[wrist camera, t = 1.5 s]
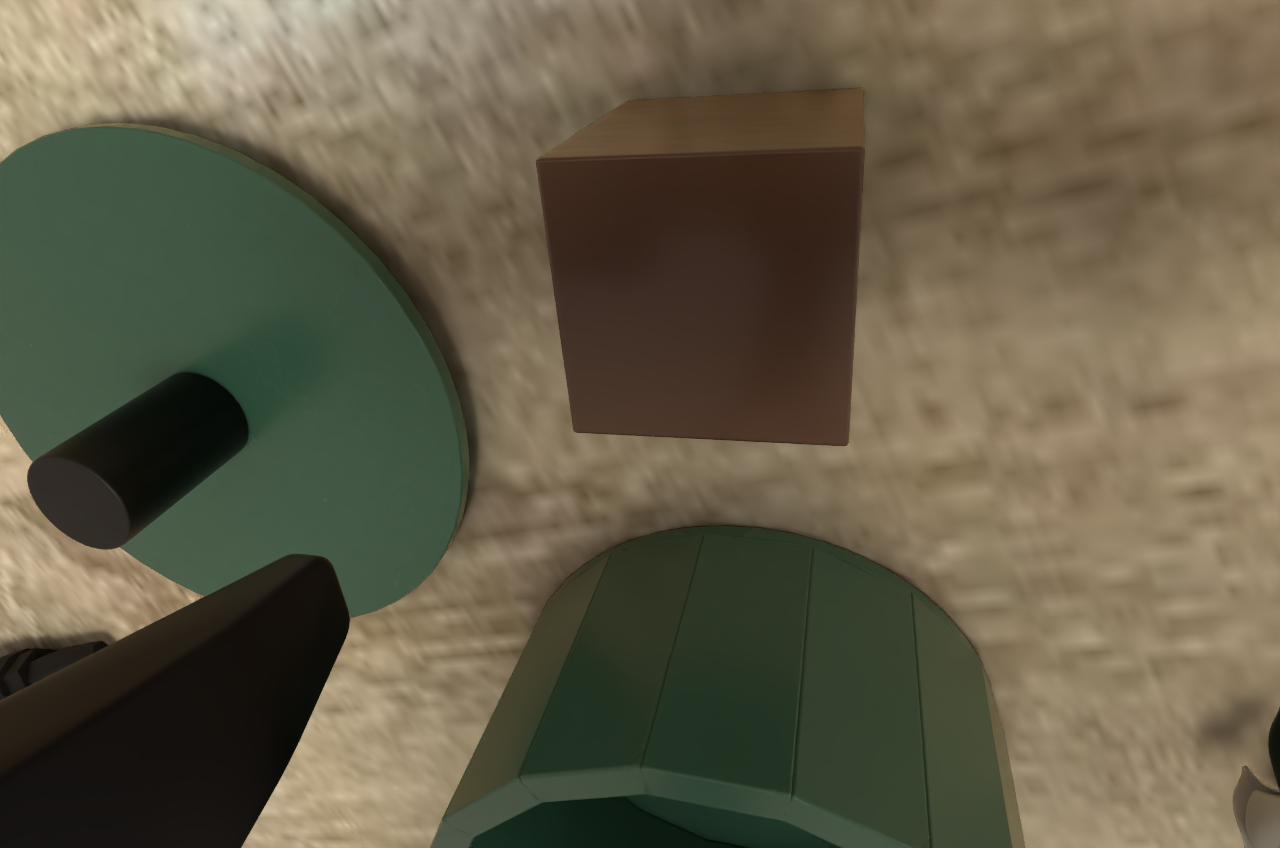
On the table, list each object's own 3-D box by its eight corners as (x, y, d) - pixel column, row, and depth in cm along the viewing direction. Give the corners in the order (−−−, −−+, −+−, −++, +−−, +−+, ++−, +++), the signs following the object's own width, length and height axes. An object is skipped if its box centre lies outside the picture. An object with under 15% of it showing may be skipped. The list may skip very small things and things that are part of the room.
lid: (318, 662, 28) (215, 798, 23) (-61, 367, 25) (-261, 458, 20) (589, 430, 20) (513, 564, 16) (94, -33, 17) (-171, -27, 13)
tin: (738, 892, 29) (704, 1156, 22) (452, 659, 26) (321, 885, 20) (1102, 768, 22) (1199, 1097, 16) (764, 432, 19) (717, 668, 13)
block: (851, 317, 17) (848, 447, 13) (643, 314, 18) (572, 433, 14) (864, 87, 15) (865, 145, 10) (626, 99, 16) (533, 158, 12)
